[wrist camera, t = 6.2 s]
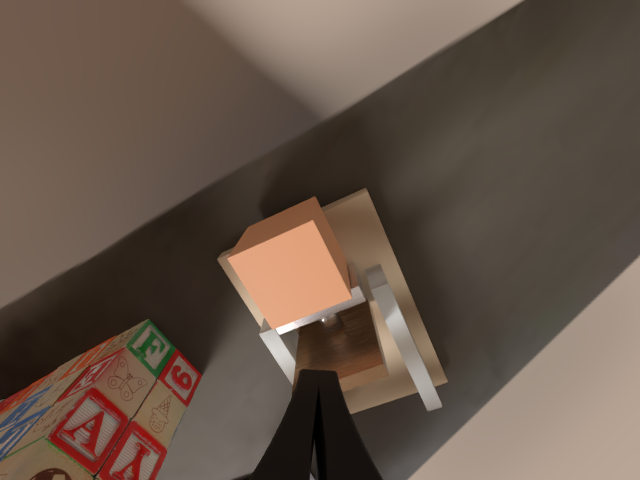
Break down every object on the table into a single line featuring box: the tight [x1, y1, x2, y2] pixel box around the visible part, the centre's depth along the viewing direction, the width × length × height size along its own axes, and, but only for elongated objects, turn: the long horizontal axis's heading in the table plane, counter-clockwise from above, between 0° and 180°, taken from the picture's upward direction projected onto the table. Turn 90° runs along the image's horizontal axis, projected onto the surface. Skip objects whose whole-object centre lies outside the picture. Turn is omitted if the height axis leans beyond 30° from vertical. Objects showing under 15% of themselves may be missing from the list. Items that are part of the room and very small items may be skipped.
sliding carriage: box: [276, 263, 389, 396], centre depth 17 cm, size 4×5×6 cm
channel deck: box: [217, 188, 448, 414], centre depth 21 cm, size 16×10×4 cm, turn 25°
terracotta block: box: [227, 196, 352, 330], centre depth 17 cm, size 4×4×4 cm
